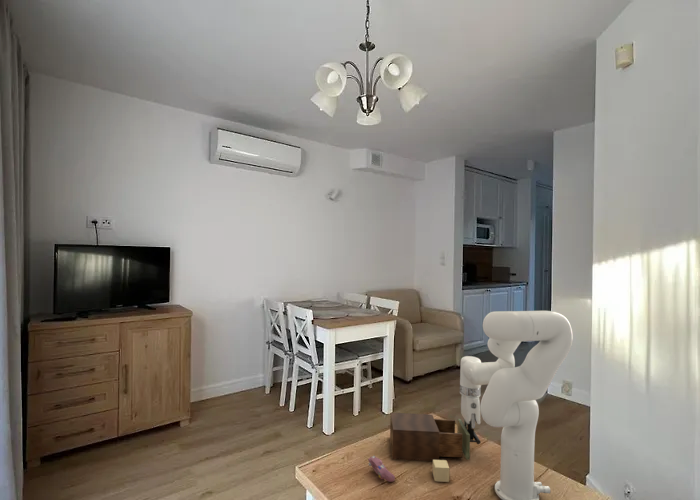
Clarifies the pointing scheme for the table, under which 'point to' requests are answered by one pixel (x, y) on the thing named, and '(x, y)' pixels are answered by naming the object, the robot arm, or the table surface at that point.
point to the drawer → (454, 439)
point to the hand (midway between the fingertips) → (468, 438)
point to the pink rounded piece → (380, 469)
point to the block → (440, 470)
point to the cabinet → (414, 437)
